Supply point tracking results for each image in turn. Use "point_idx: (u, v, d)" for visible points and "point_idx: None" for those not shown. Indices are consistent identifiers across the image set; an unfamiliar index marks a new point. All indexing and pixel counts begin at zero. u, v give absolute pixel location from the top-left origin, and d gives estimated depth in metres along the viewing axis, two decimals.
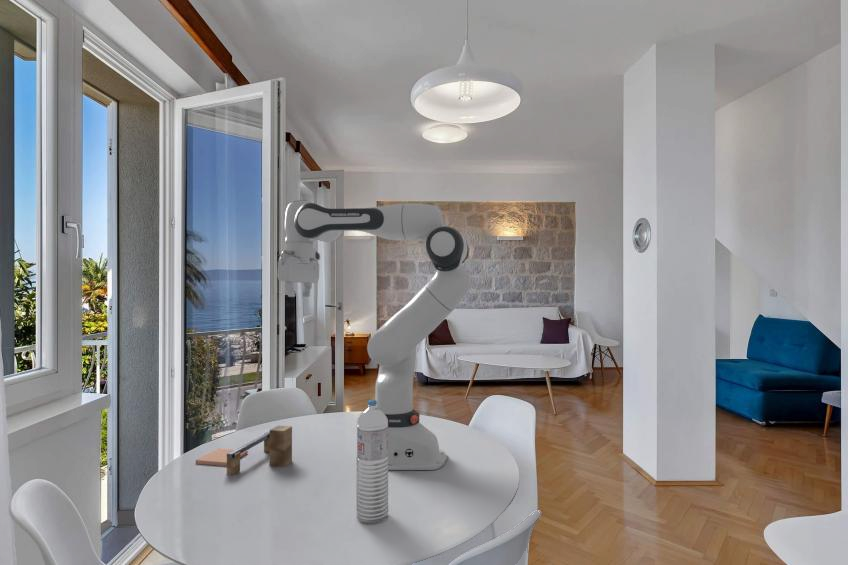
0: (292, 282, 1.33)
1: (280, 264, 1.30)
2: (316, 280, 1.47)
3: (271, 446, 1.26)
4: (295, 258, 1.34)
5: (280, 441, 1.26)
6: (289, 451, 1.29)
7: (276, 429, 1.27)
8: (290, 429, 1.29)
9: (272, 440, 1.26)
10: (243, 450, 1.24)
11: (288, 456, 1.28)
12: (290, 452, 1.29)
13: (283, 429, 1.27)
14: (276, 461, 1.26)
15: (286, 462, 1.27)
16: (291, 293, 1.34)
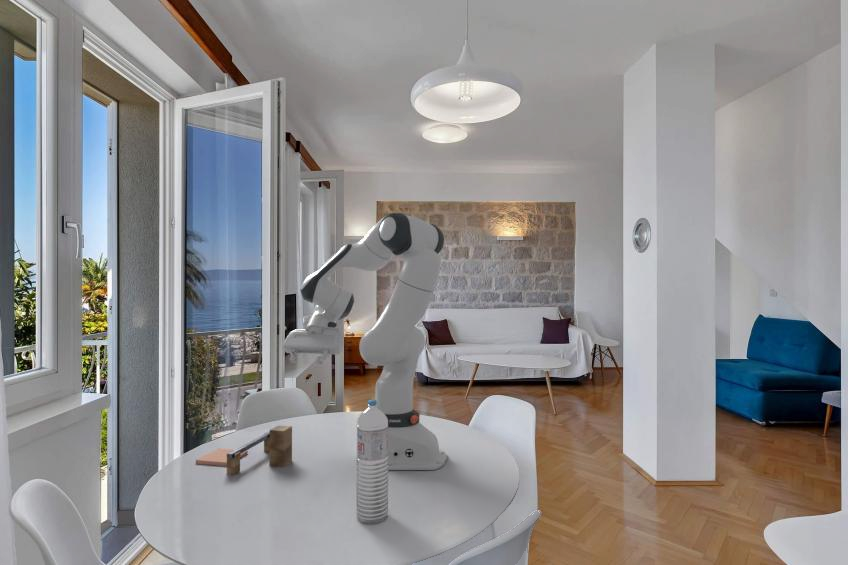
0: (292, 349, 1.47)
1: None
2: (332, 346, 1.45)
3: (271, 446, 1.26)
4: (300, 331, 1.52)
5: (280, 441, 1.26)
6: (289, 451, 1.29)
7: (276, 429, 1.27)
8: (290, 429, 1.29)
9: (272, 440, 1.26)
10: (243, 450, 1.24)
11: (288, 456, 1.28)
12: (290, 452, 1.29)
13: (283, 429, 1.27)
14: (276, 461, 1.26)
15: (286, 462, 1.27)
16: None
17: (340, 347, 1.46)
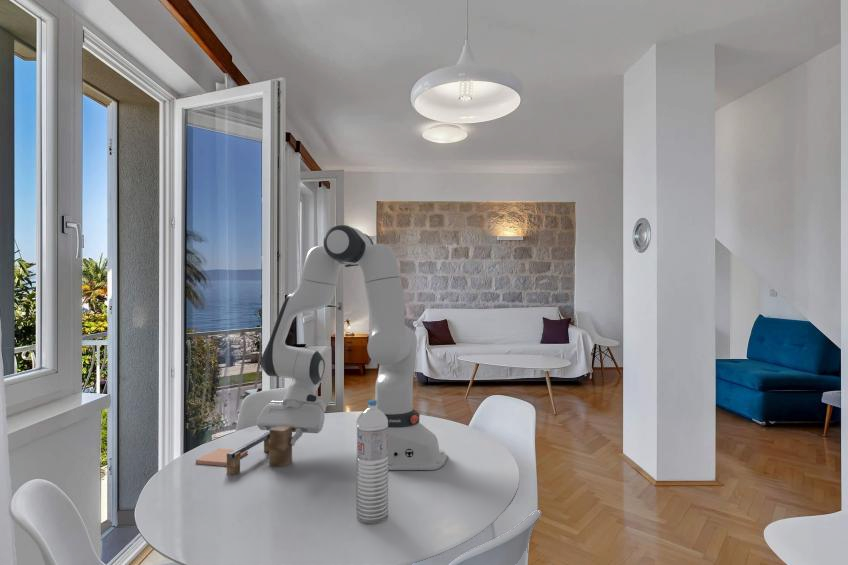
0: (272, 427, 1.32)
1: None
2: (311, 425, 1.29)
3: (271, 446, 1.26)
4: (276, 404, 1.37)
5: (280, 441, 1.26)
6: (289, 451, 1.29)
7: (276, 429, 1.27)
8: (290, 429, 1.29)
9: (272, 440, 1.26)
10: (243, 450, 1.24)
11: (288, 456, 1.28)
12: (290, 452, 1.29)
13: (283, 429, 1.27)
14: (276, 461, 1.26)
15: (286, 462, 1.27)
16: None
17: (320, 425, 1.31)
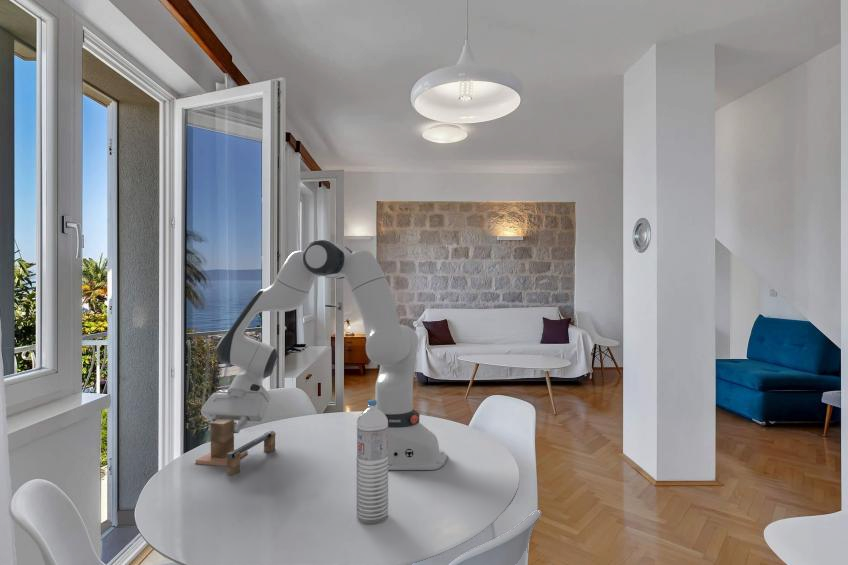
0: (212, 416, 1.36)
1: None
2: (253, 413, 1.33)
3: (212, 439, 1.30)
4: (221, 394, 1.41)
5: (220, 434, 1.30)
6: (231, 443, 1.32)
7: (217, 422, 1.31)
8: (231, 422, 1.33)
9: (213, 433, 1.30)
10: (243, 450, 1.24)
11: (229, 448, 1.32)
12: (231, 444, 1.33)
13: (224, 422, 1.31)
14: (217, 453, 1.30)
15: None
16: None
17: (262, 413, 1.35)
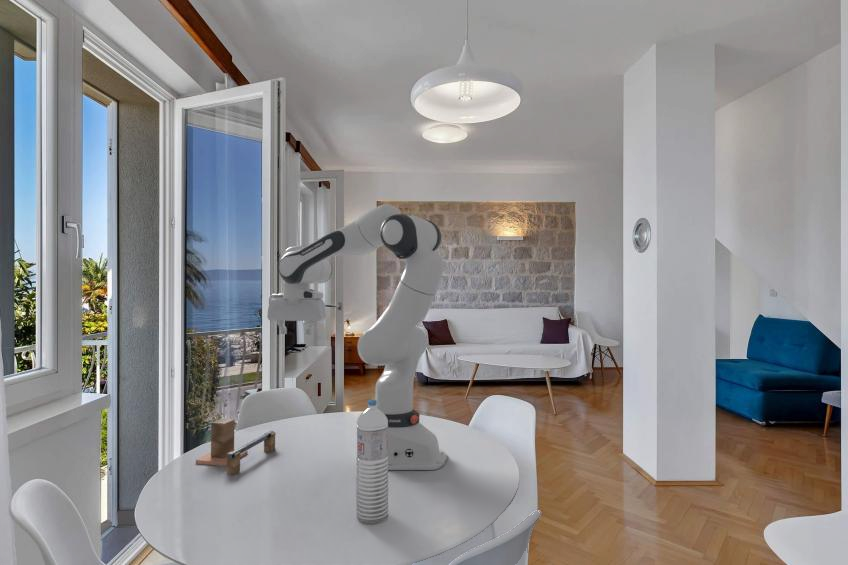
0: (278, 321, 1.52)
1: None
2: (316, 318, 1.49)
3: (213, 438, 1.30)
4: (278, 300, 1.52)
5: (221, 434, 1.30)
6: (231, 443, 1.32)
7: (218, 422, 1.31)
8: (232, 422, 1.33)
9: (214, 433, 1.30)
10: (243, 450, 1.24)
11: (230, 448, 1.32)
12: (232, 445, 1.33)
13: (224, 422, 1.31)
14: (217, 453, 1.30)
15: None
16: None
17: (323, 315, 1.50)
